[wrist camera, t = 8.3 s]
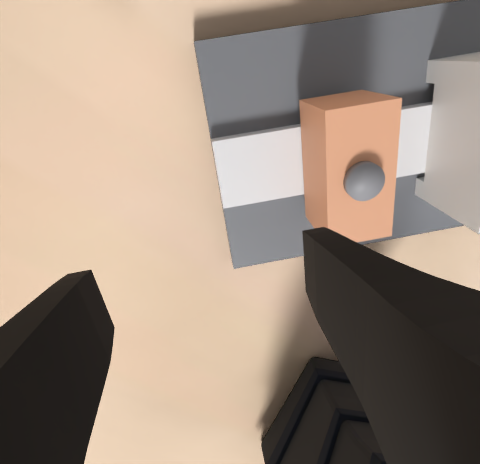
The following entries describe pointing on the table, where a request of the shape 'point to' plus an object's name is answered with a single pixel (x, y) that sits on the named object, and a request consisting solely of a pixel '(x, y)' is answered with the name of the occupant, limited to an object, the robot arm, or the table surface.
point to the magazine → (322, 422)
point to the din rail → (315, 85)
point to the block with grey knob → (351, 162)
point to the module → (454, 140)
